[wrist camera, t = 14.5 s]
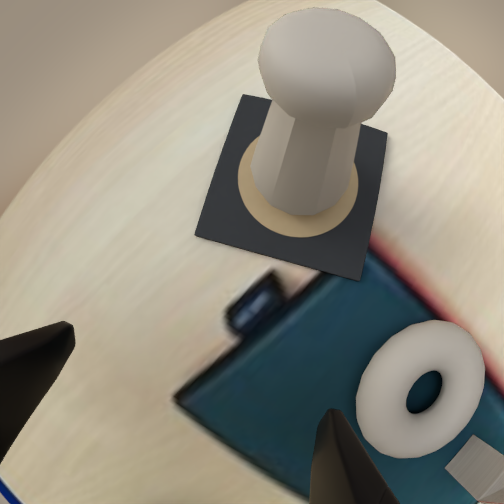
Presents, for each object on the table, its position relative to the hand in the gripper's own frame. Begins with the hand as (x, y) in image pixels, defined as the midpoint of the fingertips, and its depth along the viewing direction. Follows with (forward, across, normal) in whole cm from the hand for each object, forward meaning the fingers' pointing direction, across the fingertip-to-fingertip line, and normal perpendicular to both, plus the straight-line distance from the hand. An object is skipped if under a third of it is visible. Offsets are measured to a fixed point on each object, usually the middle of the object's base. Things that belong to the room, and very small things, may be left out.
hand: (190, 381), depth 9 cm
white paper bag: (+5, -25, +11) cm, 27 cm away
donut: (+9, -14, +5) cm, 17 cm away
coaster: (+14, -2, -5) cm, 15 cm away
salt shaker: (+14, -2, -5) cm, 15 cm away
